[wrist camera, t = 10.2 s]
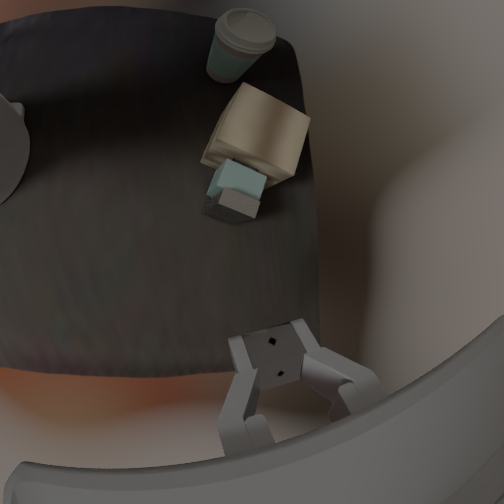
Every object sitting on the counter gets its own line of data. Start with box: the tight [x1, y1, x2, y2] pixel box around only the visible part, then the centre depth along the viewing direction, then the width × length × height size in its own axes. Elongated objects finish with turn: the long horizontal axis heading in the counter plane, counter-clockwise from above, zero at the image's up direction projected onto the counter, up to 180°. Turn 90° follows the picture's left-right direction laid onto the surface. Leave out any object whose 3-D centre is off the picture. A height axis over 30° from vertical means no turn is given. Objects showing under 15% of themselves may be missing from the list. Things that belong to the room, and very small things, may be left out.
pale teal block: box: [206, 159, 267, 201], centre depth 35 cm, size 5×4×5 cm, turn 71°
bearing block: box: [200, 82, 311, 190], centre depth 35 cm, size 10×9×9 cm
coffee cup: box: [206, 8, 277, 83], centre depth 32 cm, size 9×8×12 cm
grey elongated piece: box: [202, 158, 260, 225], centre depth 35 cm, size 4×18×8 cm, turn 161°
